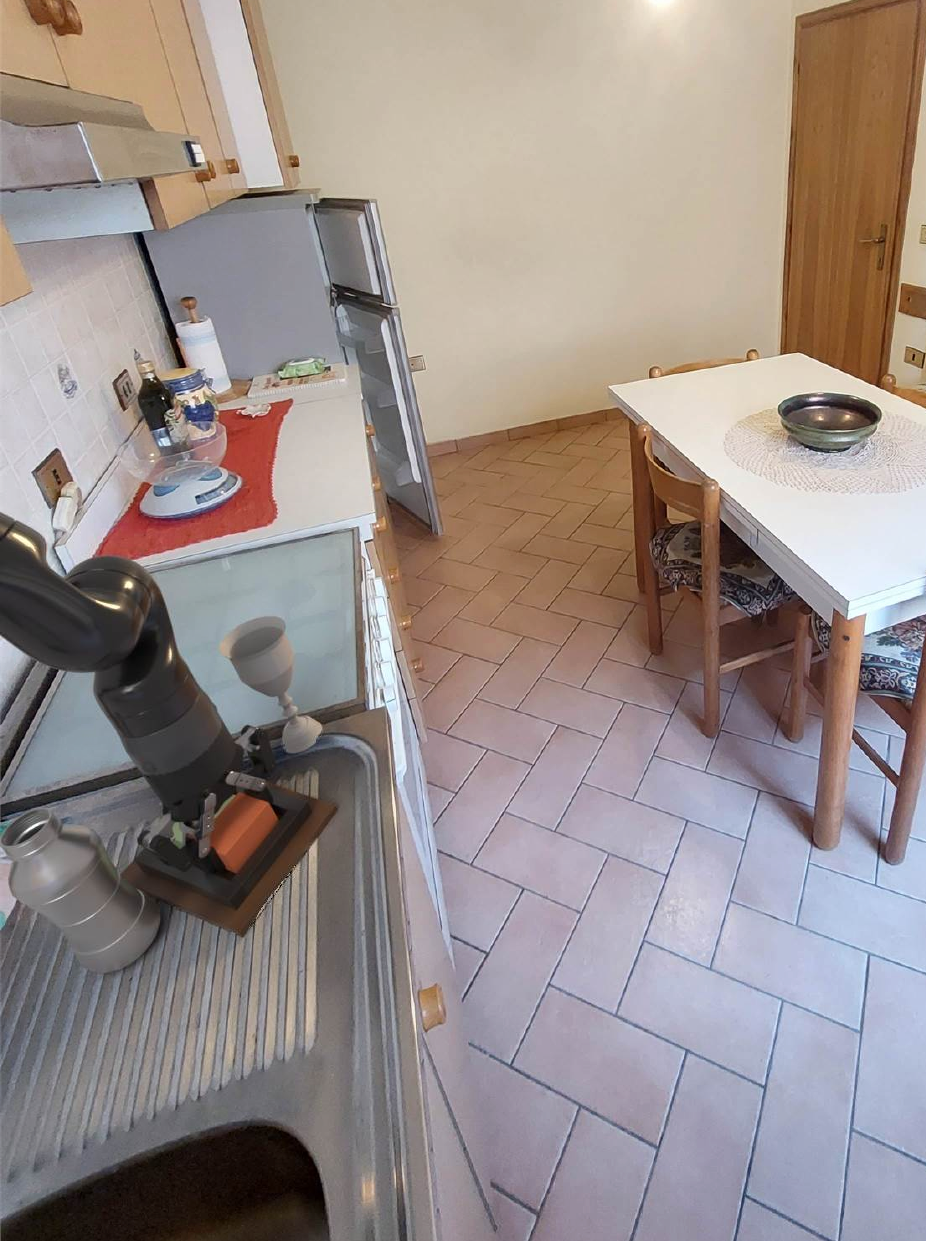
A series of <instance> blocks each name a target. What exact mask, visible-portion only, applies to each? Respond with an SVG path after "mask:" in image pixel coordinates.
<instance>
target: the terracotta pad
mask: <svg viewBox="0 0 926 1241" xmlns="http://www.w3.org/2000/svg"><path fill="white" fill-rule="evenodd" d="M278 822H279V820H278V818H277V816H276V815H275V813H274V811H273V809H272V808H271V806H270V804H269V803H268V802H265V801H263V800H259V799H256V798H254V797H251V796H248V795H245V794H242V793H240V792H239V793H238V794H237V795H236V796H235V797H234V798H233V799H232V800H231V801H230V803H229V804H228V805H227V806H226V807H225V808H224V809H223V810H222V812H221V813H220V814H219V815H218V816H217V817H216V818H215V819H214V831H213V832H211V834H210V846H212V847H214V848H215V850H216V851H217V854H218V856H219V857H220V858H221V860H222V861H223V863H224V864H225V866H226V867H225V868H224V869H226V870H229V871H231V872H234V873H236V874H237V873H238V871H239V870H240V869H241V868H242V866H243V865H244V864H245V863H246V861H247V860H248V859H249V858H250V856H251V855H252V854H253V853H254V851H255V850H256V849H257V848H258V847H259V845H260V844H261V843H262V842H263V840H264V839H265V838H266V837H267V835H268V834H269V833H270V832H271V830H272V829H273V828H274V827H275V825H276V824H277V823H278Z"/></svg>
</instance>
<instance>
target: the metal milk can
mask: <svg viewBox="0 0 926 1241" xmlns="http://www.w3.org/2000/svg"><path fill="white" fill-rule="evenodd" d="M0 847H1V849H2V850H3V851H4V852H5V855H6V857H7V858H8V859H9V860H10V861H12V863H11V865H10V870H9V873H8V879H7V880H8V888H9V891H10V894H11V896H12V897H13V898H15V900H17V901H18V902H20V903H21V904H23V905H24V906H26V907H28V908H30V909H31V910H33V911H35V912H37V913H38V914H40V915H42V916H44V917H45V918H46V919H47V920H49V921H50V922H51V923H52V924H53V925H55V926H56V927H57V928H58V929H59V930H60V932H61V933H62V934H63V936H64V937H65V938H66V940H67V942H68V943H69V944H70V946H71V948H72V951H73V954H74V955H75V957H76V959H77V961H78V963H79V965H81V967H83V968H84V969H86V970H88V971H91V972H93V973H96V974H109V973H113V972H117V971H119V970H122V969H124V968H126V967H128V966H130V965H131V964H132V963H134V962H135V961H136V960H138V959H139V958H140V957H141V956H142V955H143V954H144V953H145V952H146V951H147V950H148V949H149V947H150V946H151V945H152V943H153V942H154V940H155V938H156V936H157V934H158V931H159V927H160V925H161V912H160V909H159V907H158V904H157V903H156V901H155V899H154V898H152V897H150V896H148V895H147V894H145V893H144V892H142V891H140V890H138V889H136V888H135V887H134V886H133V885H131V884H130V883H129V882H128V881H127V880H126V879H124V878H123V877H122V876H121V873H120V872H119V870H118V868H117V867H116V865H115V864H114V863H113V861H112V860H111V858H110V856H109V853H108V852H107V850H106V847H105V845H104V843H103V841H102V838H101V837H100V836H99V834H98V833H97V831H96V830H95V829H94V828H91V827H89V826H86V825H83V824H72V823H65V824H64V823H63V820H62V819H61V818H60V817H59V816H57V815H56V814H55V812H53V810H51V809H50V808H48V807H37V808H34V809H30V810H29V811H26V812H24V813H23V814H21V815H20V816H18V817H16V818H15V819H14V820H13V821H11V822H10V824H8V825H7V826H6V827H5V829H4V830H3V831H2V833H1V835H0Z"/></svg>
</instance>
